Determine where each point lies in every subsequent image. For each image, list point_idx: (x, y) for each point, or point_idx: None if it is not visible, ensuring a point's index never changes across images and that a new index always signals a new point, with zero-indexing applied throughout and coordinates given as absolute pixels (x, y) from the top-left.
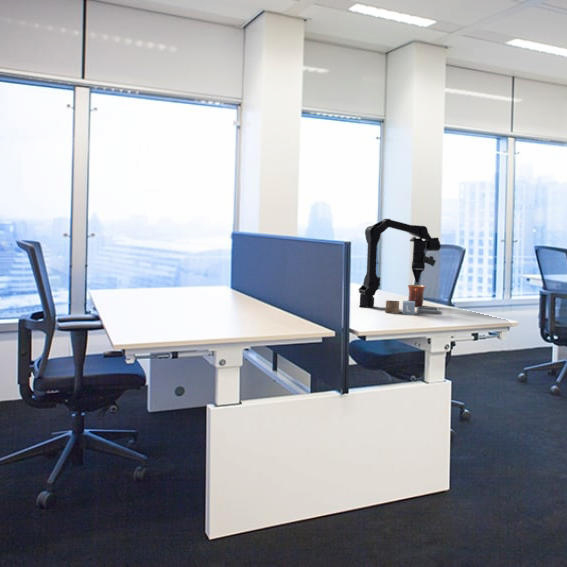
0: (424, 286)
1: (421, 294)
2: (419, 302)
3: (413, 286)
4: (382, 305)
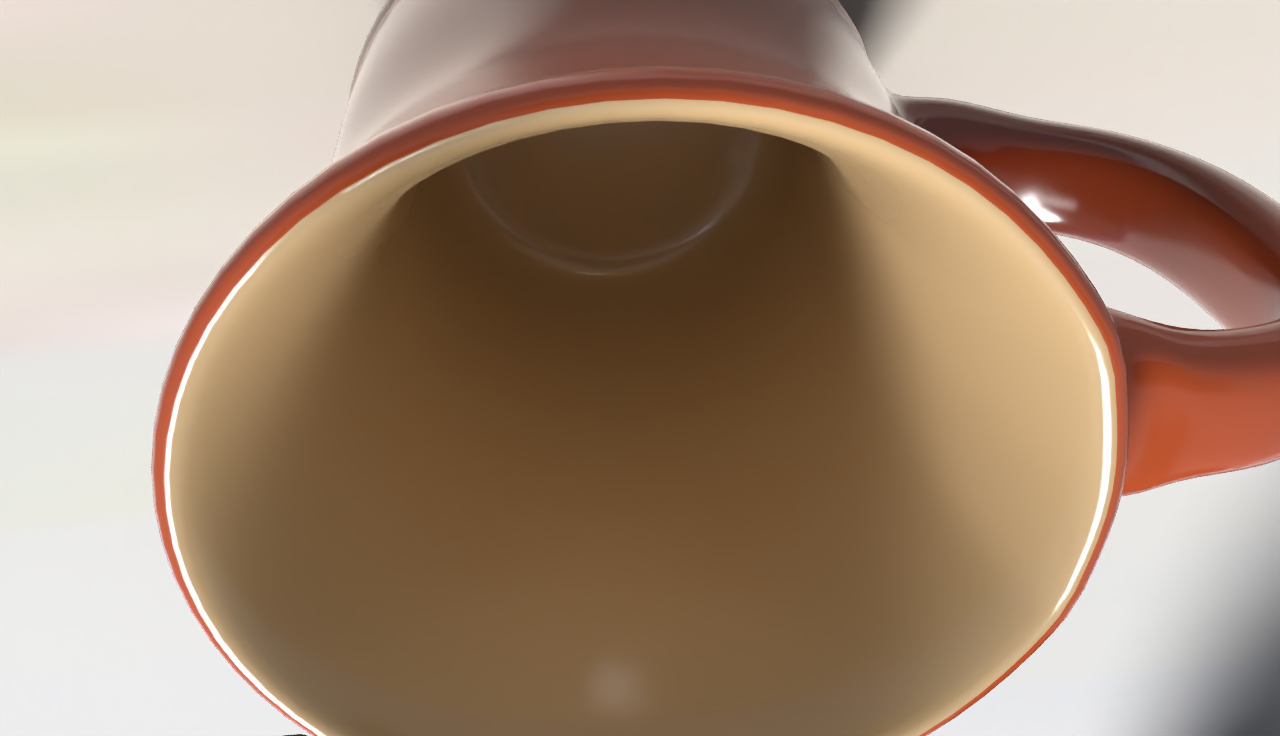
0: (496, 143)
1: (848, 78)
2: (842, 12)
3: (328, 620)
4: None
